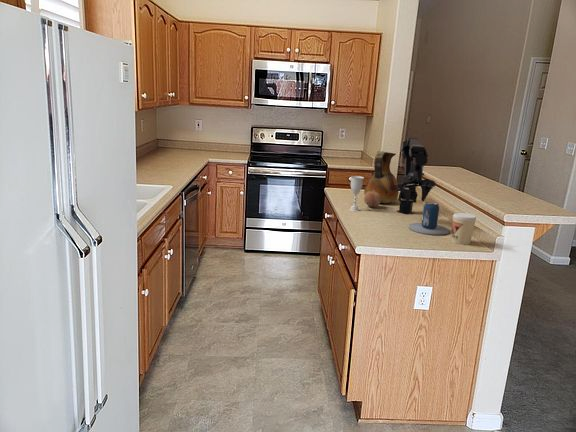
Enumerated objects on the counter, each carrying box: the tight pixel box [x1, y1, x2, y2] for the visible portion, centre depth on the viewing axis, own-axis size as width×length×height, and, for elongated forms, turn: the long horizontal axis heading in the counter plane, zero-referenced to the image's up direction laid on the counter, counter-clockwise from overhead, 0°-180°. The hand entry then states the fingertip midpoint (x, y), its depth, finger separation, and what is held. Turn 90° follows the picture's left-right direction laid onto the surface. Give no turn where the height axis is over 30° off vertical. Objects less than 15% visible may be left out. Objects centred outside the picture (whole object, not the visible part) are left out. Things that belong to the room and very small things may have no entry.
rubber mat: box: [408, 222, 450, 236], centre depth 217 cm, size 18×18×1 cm
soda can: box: [421, 201, 440, 230], centre depth 216 cm, size 7×7×12 cm
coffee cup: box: [451, 212, 477, 246], centre depth 199 cm, size 9×9×12 cm
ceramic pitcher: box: [363, 150, 400, 204], centre depth 271 cm, size 20×20×30 cm
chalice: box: [349, 175, 365, 212], centre depth 248 cm, size 7×7×18 cm
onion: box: [363, 190, 382, 208], centre depth 257 cm, size 10×9×10 cm
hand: (415, 202), depth 225 cm, fingers open, 9 cm apart
